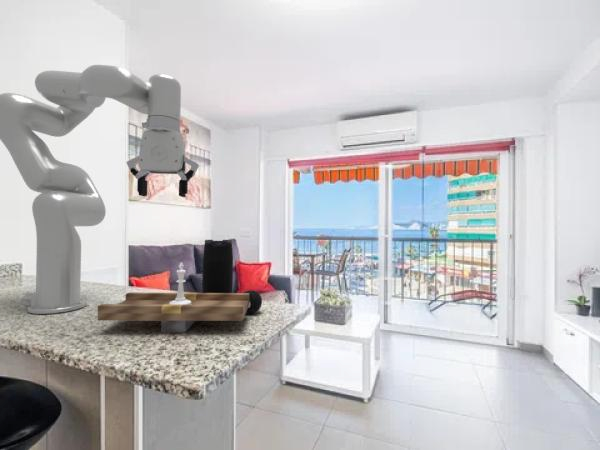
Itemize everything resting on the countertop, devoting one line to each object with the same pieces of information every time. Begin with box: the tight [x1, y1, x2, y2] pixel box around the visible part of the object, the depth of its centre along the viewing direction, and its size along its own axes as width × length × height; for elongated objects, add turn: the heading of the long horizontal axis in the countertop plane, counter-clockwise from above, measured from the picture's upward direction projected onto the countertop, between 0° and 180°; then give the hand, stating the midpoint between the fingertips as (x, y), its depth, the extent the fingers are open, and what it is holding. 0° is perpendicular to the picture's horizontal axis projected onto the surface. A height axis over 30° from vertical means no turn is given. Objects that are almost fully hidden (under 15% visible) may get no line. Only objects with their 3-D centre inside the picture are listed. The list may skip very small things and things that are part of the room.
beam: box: [97, 292, 249, 333], centre depth 72 cm, size 30×13×6 cm, turn 93°
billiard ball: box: [243, 289, 263, 315], centre depth 82 cm, size 6×6×6 cm
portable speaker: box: [201, 239, 234, 293], centre depth 88 cm, size 8×9×19 cm
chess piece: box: [169, 261, 192, 305], centre depth 72 cm, size 5×5×10 cm
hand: (162, 196), depth 77 cm, fingers open, 9 cm apart
